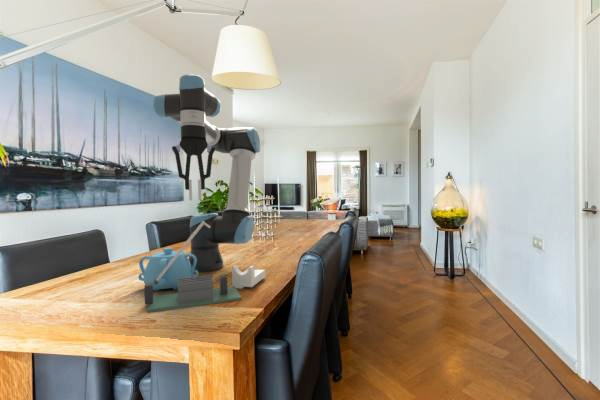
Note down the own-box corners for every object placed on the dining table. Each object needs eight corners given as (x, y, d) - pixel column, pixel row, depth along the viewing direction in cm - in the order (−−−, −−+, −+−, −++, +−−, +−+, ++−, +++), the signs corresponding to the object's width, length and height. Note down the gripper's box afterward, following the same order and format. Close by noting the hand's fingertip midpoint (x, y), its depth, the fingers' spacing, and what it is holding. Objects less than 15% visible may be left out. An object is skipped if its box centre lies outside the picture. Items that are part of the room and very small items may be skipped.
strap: (161, 285, 98) (153, 280, 97) (209, 225, 103) (202, 220, 102) (161, 288, 95) (152, 283, 94) (210, 226, 100) (202, 221, 99)
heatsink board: (147, 299, 101) (146, 279, 101) (234, 288, 110) (234, 270, 110) (143, 313, 90) (142, 290, 90) (241, 299, 99) (240, 279, 99)
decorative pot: (180, 277, 126) (178, 242, 125) (202, 285, 115) (201, 246, 115) (136, 287, 114) (134, 249, 113) (156, 297, 103) (154, 254, 103)
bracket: (251, 289, 110) (251, 267, 109) (232, 288, 111) (231, 266, 111) (265, 279, 122) (264, 259, 122) (247, 278, 124) (247, 258, 124)
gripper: (166, 122, 97) (169, 201, 98) (219, 125, 102) (221, 199, 103) (167, 127, 104) (170, 200, 105) (216, 129, 109) (218, 199, 110)
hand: (195, 200), depth 104 cm, fingers open, 2 cm apart
